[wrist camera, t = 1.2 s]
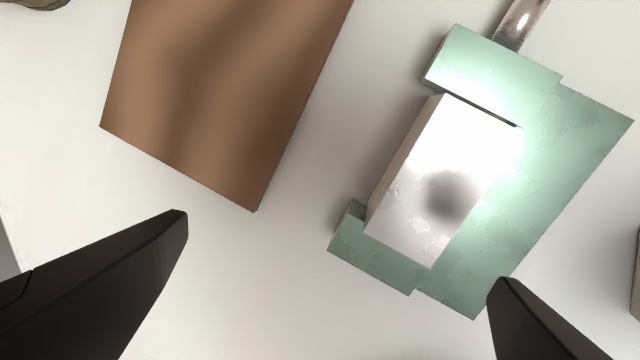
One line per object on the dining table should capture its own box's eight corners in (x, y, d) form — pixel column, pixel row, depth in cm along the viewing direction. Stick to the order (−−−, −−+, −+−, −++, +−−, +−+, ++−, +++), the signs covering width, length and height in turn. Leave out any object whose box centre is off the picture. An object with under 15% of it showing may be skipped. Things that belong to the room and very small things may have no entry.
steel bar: (485, 125, 20) (525, 133, 14) (418, 227, 23) (430, 269, 17) (428, 96, 20) (445, 93, 15) (368, 199, 23) (362, 232, 17)
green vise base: (667, 52, 17) (723, 42, 15) (467, 307, 23) (479, 336, 20) (484, -34, 18) (502, -60, 15) (333, 232, 24) (326, 250, 21)
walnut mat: (369, -34, 19) (369, -38, 19) (256, 210, 25) (253, 213, 24) (173, -130, 20) (167, -136, 20) (105, 126, 26) (99, 126, 25)
